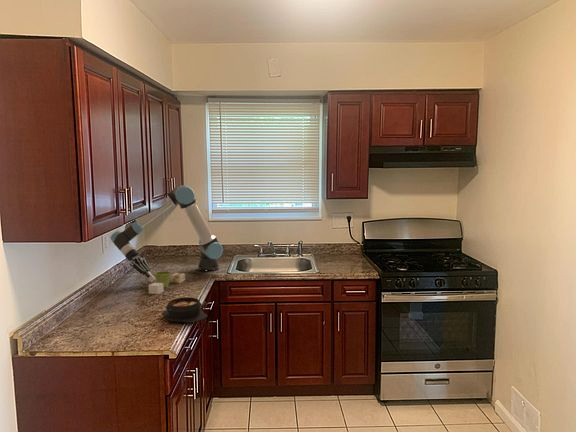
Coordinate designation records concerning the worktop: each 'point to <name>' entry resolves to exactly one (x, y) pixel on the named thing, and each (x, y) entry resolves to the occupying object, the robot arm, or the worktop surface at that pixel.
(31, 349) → the worktop surface
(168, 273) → the plant pot
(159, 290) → the grey block
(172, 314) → the casserole
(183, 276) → the birch block
